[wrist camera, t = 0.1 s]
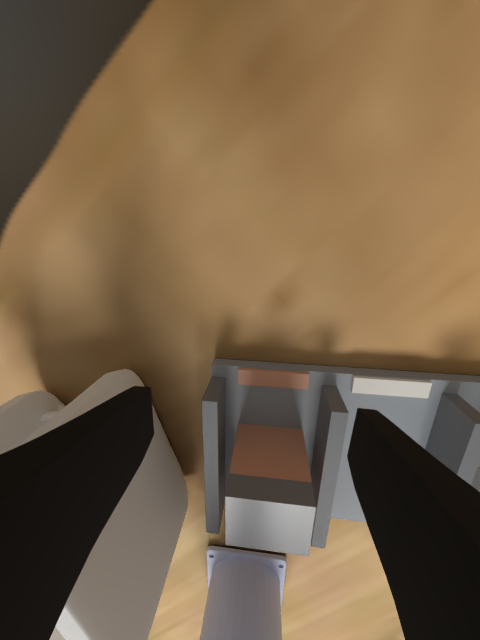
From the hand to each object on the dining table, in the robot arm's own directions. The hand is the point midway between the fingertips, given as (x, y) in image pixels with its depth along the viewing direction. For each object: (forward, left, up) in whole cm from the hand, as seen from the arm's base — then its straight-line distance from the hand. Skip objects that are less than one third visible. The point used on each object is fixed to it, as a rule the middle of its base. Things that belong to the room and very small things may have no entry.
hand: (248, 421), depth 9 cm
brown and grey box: (-10, -1, -9) cm, 13 cm away
